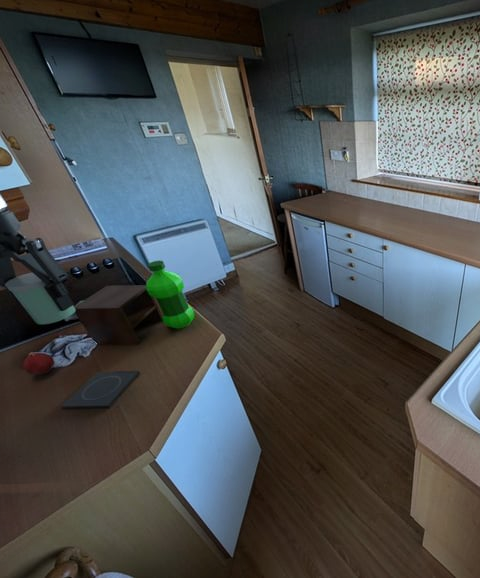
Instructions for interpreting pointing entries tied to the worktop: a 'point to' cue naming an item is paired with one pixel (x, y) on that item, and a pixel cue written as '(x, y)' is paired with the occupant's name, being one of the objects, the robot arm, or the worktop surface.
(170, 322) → the plastic bottle
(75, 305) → the packaged food
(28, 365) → the red rounded lump
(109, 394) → the hob
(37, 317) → the jar
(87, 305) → the shelf rack
